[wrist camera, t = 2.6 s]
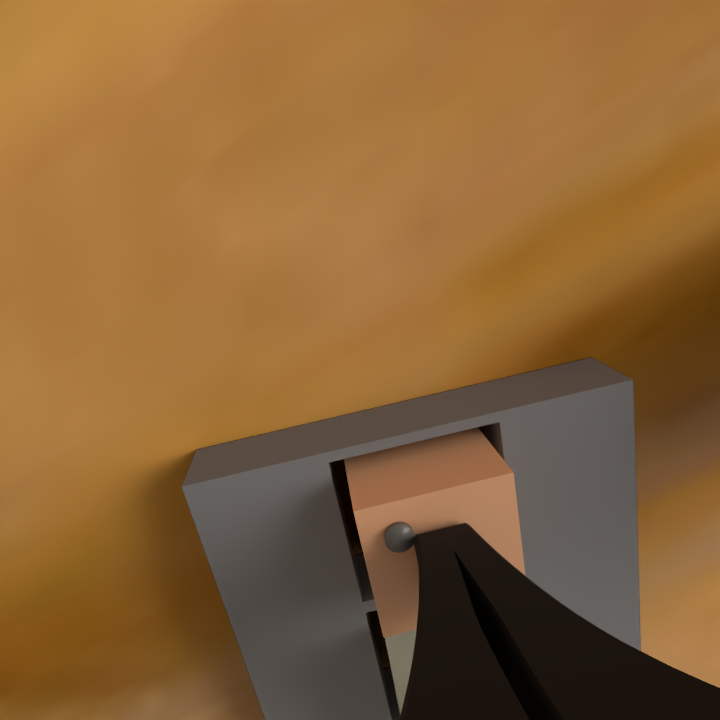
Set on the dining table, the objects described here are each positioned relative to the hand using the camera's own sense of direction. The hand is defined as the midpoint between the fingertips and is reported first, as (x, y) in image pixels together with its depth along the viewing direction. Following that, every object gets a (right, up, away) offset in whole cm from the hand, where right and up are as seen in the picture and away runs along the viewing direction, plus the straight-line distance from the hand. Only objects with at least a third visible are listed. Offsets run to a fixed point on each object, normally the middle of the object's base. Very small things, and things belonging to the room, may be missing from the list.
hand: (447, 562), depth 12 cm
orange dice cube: (0, +1, +3) cm, 4 cm away
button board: (0, -3, +5) cm, 6 cm away
